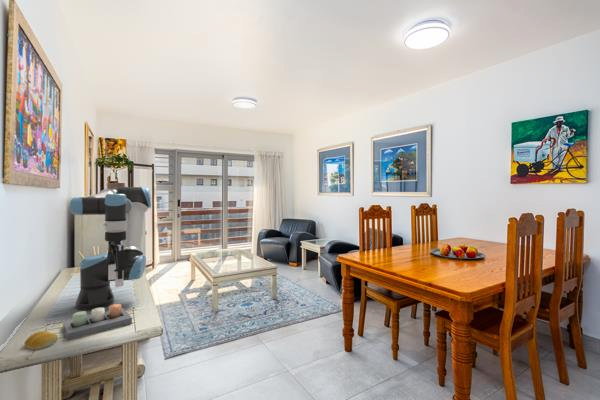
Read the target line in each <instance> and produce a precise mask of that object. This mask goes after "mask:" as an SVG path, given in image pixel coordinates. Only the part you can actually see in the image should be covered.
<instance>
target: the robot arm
mask: <svg viewBox="0 0 600 400" xmlns="http://www.w3.org/2000/svg"><path fill="white" fill-rule="evenodd" d="M151 198H152V197H151V190H150V189H149V187H144V186H139V187H138V186H113V187H109V188H105V189H101V190H100V191H99V192H98V193H96V194H92V195H89V196H86V197H85V196H84V197H82V196H78V197H73V198H71V200H70V202H69V210H70V213H71V214H72V215H75V216H88V215H89V216H93V215H94V216H95V215H96V216H97V215H98V216H99V215H102V216H103V215H104V217H105V218H104V221H105V222H104V223H103V226H104V231H105V233H104V241H105V242H107V244H108V246H107V247H108V248H107V253H100V254H99V253H98V254H94V255H89V256H86V257H84V258H82V259H81V260H80V268H79V270H80V271H79V273H80V276H79V277H80V278H79V279H80V282H79V285H80V287H79V288H80V290H79V293H78V296H77V298H76V301H75V309H77V310H80V311H89V310H90V311H92V310H93V309H95V308H105V307H107V306H108V307H109V306H111V305H113V303H114V302H115V295H114V293H113V290H112V287H111V282H115V286H114V287H115V288H119V287H121V288H122V287H124V281H134V280H139V279H141V278H142V277H143V275H144V274H145V273H144V272H145V270H146V269H145V268H146V263H147V257H146V255H144V253H143V251H142V250H141V247H142V246H141V245H142V235H143V229H144V220H145V219H144V218H145V213H146V212H148V209H149V208H152V199H151Z"/></svg>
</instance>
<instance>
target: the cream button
mask: <svg viewBox="0 0 600 400" xmlns="http://www.w3.org/2000/svg"><path fill="white" fill-rule="evenodd" d="M105 309H106V308H105V307H102V308H95V309H91V310H90V311H91V314H90V315H91V321H92V322H98V321H101V320H104V319H105V312H106V311H105Z"/></svg>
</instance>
